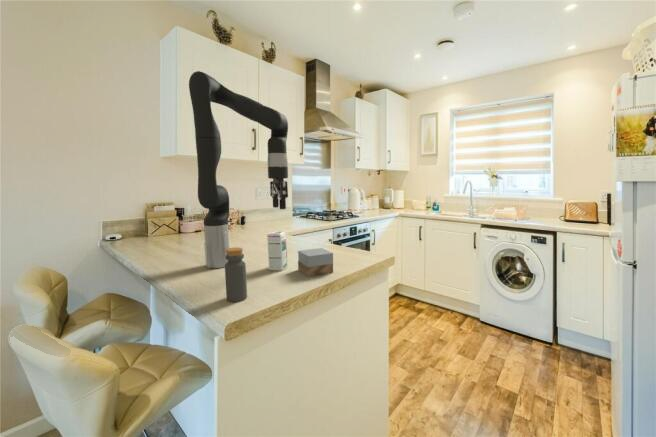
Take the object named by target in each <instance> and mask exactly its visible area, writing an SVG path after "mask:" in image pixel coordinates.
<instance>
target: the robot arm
mask: <svg viewBox="0 0 656 437" xmlns="http://www.w3.org/2000/svg"><path fill="white" fill-rule="evenodd" d="M188 89H189V95H190V96H189V97H190V101H191V106H192V107H191V108H192V113H193V122H194V123H193V124H194V132H195V133H194V135H195V136H194V137H195V147H196V148H195V149H196V155H197V156H196V157H197V159H196V160H197V176H198V177H197V199H198V202H199V204H200V205H201V207H202V208H204V209H208V213H207V215H205V217H204V219H203V230H204V231H203V233H204V235H203V236H204V243H203V244H204V259H205V260H204V261H205V267H206V268H207V269H221V268H222V269H223V268H225V264H226V263H227V262H228V260H226V255H227V252H226V249H229V248H230V239H229V224H228V223H229V217H230V196H229V192H228V190H227V188H225V187H224V186H223V185H219V184H217V182H218V181H217V169H218V165H219V163H220V160H221V155H222V140H221V139H222V138H221V133H220V130H219V127H218V124H217V122H216V120H215V118H214V114H213V112H212V111H213V110H212V106H211V105H212V104H211V103H215V104H218V105H221V106H224V107H226V108H229V109H230V110H232V111H234V112H235V113H237V114H238V115H241V116H243V117H244V118H246V119H249V120H251V121H253V122H254V123H258V124H259V125H262V126H263V127H265V128H267V129H269V130H270V138H269V139H268V140H267V177H268V179H271V180H272V181H269V185H270V186H269V191H270V197H271V199H272V207H273V208H277V209H278V208H279V209H280V210H286V208H287V203H286V202H287V201H286V200H287V199H288V198H289V194H288V193H289V189H288V181H286V180H285V179H288V178H289V169H288V168H289V167H288V166H289V164H288V156H287V153H288V152H287V138H288V132H289V122H288V119H287V116H286V115H284V114H283V113H282V112H280V111H278V110H276V109H274V108H271V107H269V106H267V105H264V104H262V103H260V102H259V101H256V100H254V99H252V98H250V97H248V96H246V95H242V94H239V93H237V92H234V91H232V90H231V89H229V88H227V87H226V86H225V85H223V84H221V83H220V82H219V81H218V80H217V79H216V78H214V77H212V76H211V75H209V74H207V73H206V72H203V71H200V70H199V71H198V70H197V71H195V72H193V73H192V74H191V75H190V78H189V80H188ZM284 180H285V181H284Z"/></svg>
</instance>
